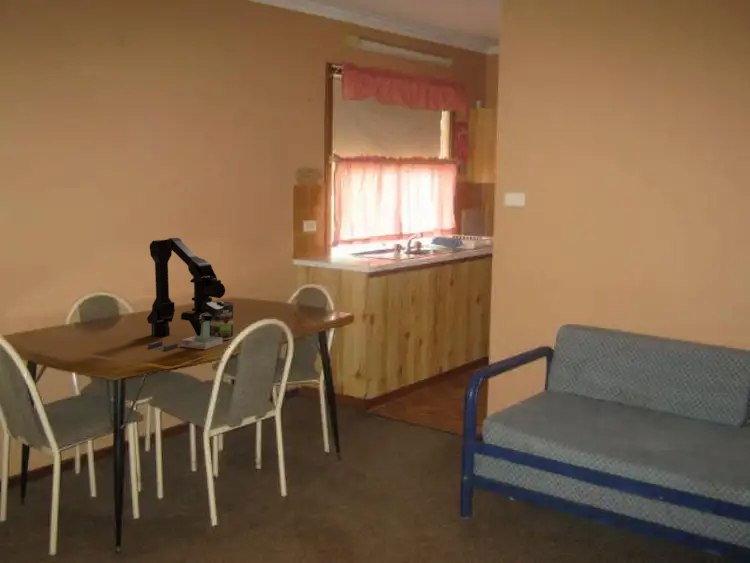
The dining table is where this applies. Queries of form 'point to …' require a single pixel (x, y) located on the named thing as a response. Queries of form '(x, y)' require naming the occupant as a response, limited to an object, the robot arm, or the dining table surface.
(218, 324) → the coffee can
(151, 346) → the dark grey bracket
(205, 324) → the plug
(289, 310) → the dining table surface
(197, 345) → the port
